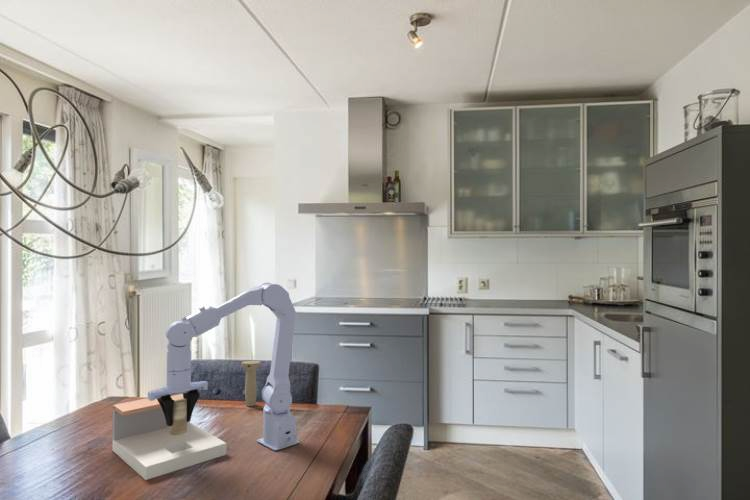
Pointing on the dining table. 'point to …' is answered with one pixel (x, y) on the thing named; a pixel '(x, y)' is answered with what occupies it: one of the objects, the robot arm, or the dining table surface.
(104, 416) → the dining table surface
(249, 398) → the handle
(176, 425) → the peg
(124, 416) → the station
